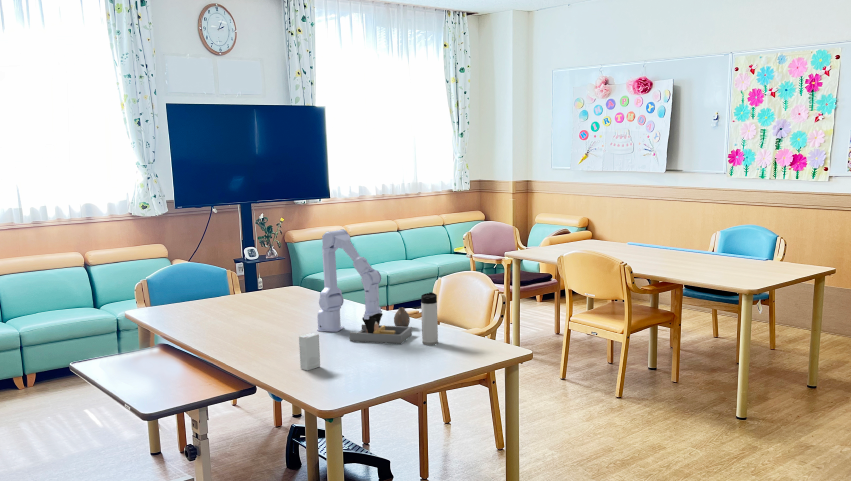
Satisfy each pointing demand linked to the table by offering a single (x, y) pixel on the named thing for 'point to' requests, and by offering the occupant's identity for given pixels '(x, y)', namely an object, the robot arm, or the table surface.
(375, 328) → the jar
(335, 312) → the robot arm
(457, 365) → the table surface
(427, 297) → the travel mug
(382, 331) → the pusher
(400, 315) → the brown rounded piece
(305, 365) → the skincare box
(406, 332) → the lane
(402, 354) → the table surface
